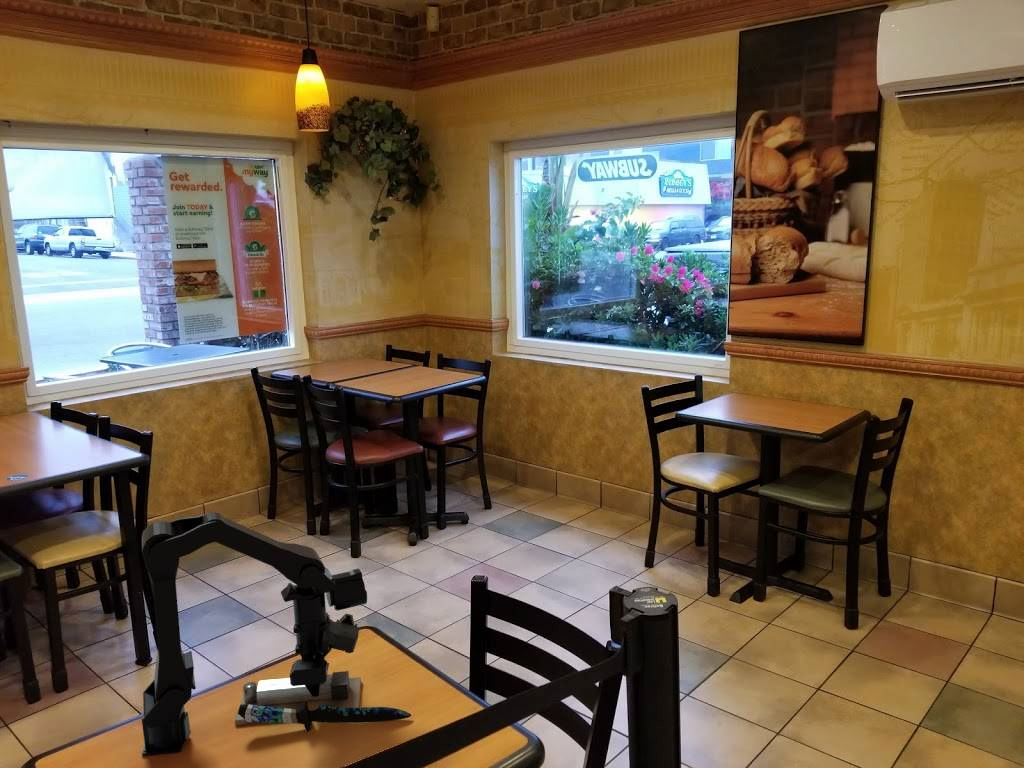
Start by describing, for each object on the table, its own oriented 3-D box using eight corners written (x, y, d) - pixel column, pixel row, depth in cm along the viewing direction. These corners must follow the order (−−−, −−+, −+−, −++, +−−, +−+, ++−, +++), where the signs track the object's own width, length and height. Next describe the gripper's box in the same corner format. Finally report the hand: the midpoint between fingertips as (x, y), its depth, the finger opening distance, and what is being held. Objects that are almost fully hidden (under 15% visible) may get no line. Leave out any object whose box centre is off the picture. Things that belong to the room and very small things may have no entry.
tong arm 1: (257, 707, 143) (255, 693, 142) (259, 700, 145) (258, 686, 144) (348, 698, 145) (347, 684, 144) (348, 691, 147) (347, 677, 146)
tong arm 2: (259, 699, 145) (258, 685, 144) (261, 692, 147) (260, 678, 146) (348, 691, 147) (347, 677, 146) (349, 684, 149) (348, 671, 148)
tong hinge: (243, 705, 143) (241, 690, 143) (245, 697, 146) (244, 682, 145) (256, 704, 144) (255, 688, 143) (258, 696, 146) (257, 681, 145)
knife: (236, 729, 136) (236, 707, 135) (241, 718, 139) (241, 696, 138) (409, 737, 139) (410, 716, 138) (410, 726, 142) (412, 705, 141)
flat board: (235, 725, 140) (234, 720, 139) (245, 692, 149) (245, 687, 149) (358, 713, 143) (358, 708, 142) (361, 681, 152) (360, 677, 152)
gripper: (351, 637, 135) (357, 716, 138) (357, 588, 153) (362, 659, 156) (286, 644, 133) (293, 723, 137) (299, 593, 151) (306, 664, 155)
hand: (316, 690), depth 146 cm, fingers open, 3 cm apart
